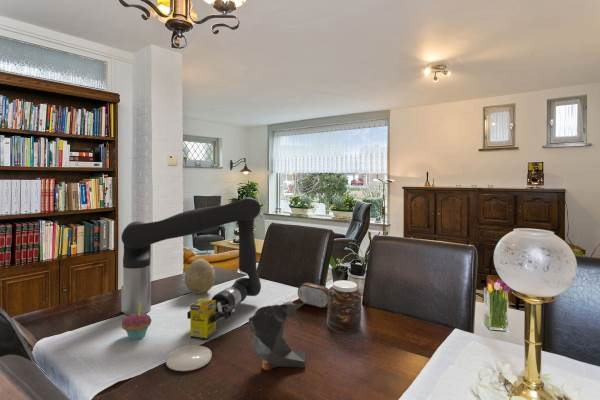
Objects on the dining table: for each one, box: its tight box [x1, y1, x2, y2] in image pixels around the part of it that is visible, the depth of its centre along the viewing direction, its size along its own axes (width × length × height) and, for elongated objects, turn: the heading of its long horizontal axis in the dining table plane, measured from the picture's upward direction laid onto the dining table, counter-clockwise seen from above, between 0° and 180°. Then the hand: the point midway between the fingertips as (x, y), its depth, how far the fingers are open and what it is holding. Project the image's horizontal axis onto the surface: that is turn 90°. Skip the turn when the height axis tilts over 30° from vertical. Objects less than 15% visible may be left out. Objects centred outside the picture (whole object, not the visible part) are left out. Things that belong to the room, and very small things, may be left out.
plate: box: [165, 344, 213, 372], centre depth 95 cm, size 12×12×1 cm
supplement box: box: [190, 298, 216, 341], centre depth 109 cm, size 6×6×11 cm
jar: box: [326, 279, 363, 335], centre depth 118 cm, size 12×12×15 cm
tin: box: [297, 282, 329, 309], centre depth 137 cm, size 15×3×8 cm, turn 58°
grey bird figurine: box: [247, 300, 306, 372], centre depth 93 cm, size 14×15×18 cm
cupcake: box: [120, 300, 152, 341], centre depth 108 cm, size 9×8×12 cm
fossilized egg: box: [184, 258, 216, 295], centre depth 148 cm, size 13×13×15 cm
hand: (199, 317), depth 107 cm, fingers open, 8 cm apart
